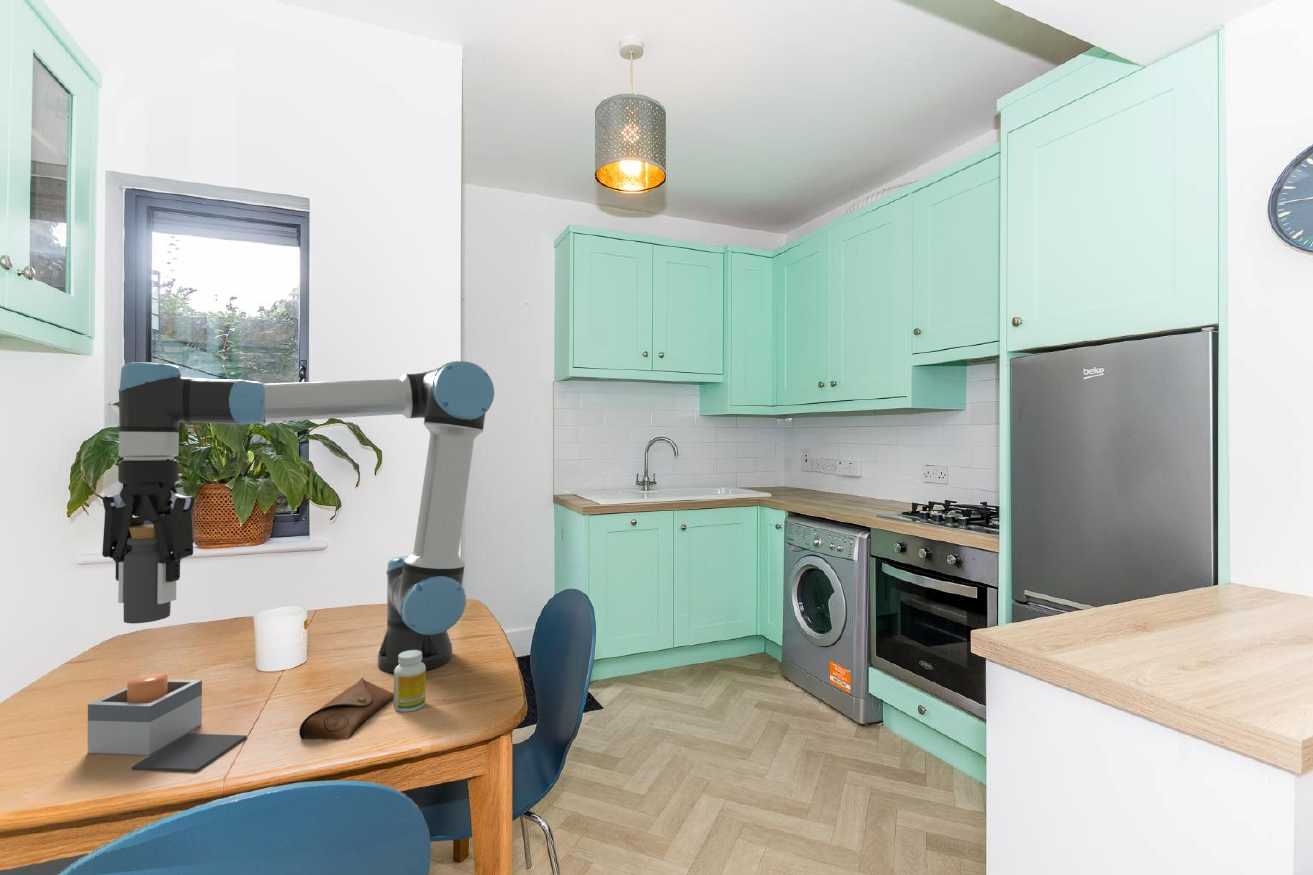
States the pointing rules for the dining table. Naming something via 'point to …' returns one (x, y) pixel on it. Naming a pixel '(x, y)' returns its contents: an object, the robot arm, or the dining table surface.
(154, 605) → the bottle
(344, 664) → the dining table surface
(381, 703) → the sunglasses case
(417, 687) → the supplement bottle
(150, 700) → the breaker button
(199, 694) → the grey open box
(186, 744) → the coaster
